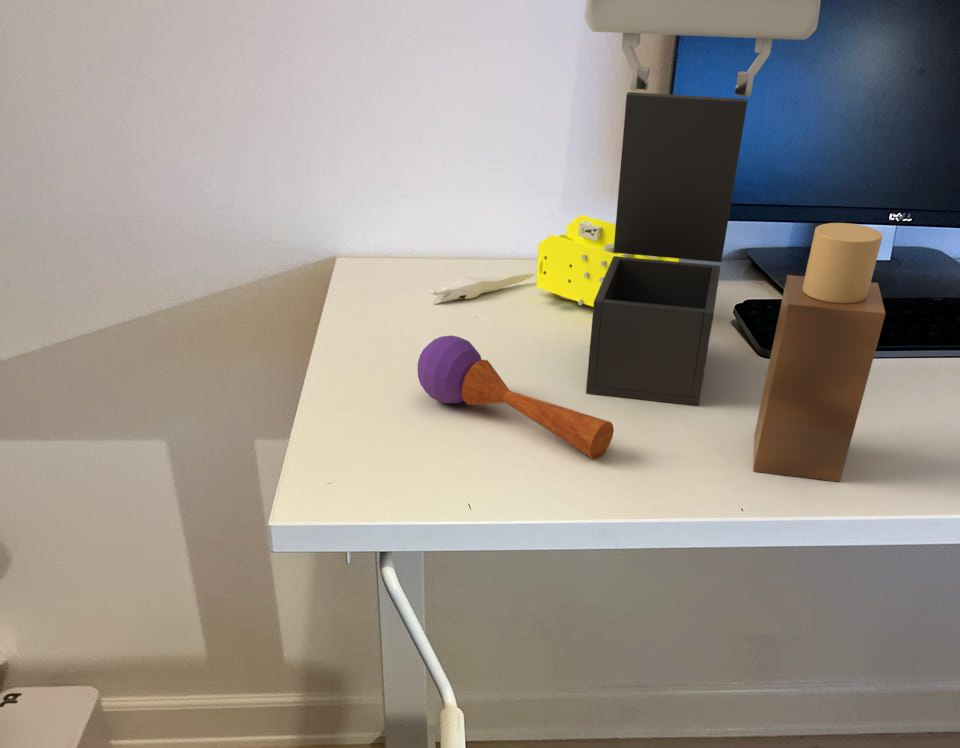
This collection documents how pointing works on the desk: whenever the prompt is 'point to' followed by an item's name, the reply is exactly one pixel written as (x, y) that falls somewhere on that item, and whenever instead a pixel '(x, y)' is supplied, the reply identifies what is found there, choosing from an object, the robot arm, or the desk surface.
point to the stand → (815, 382)
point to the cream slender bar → (476, 286)
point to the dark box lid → (677, 175)
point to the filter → (841, 262)
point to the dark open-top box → (652, 330)
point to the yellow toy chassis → (579, 259)
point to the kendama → (502, 394)
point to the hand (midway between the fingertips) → (690, 93)
